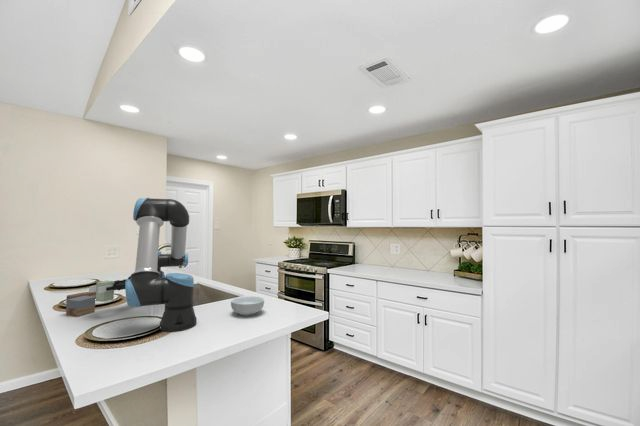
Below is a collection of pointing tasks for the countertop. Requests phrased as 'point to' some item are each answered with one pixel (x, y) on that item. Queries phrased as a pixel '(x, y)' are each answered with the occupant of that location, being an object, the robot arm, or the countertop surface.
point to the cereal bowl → (247, 305)
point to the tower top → (80, 302)
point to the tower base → (80, 311)
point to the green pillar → (105, 295)
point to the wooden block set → (91, 294)
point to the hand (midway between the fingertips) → (94, 290)
